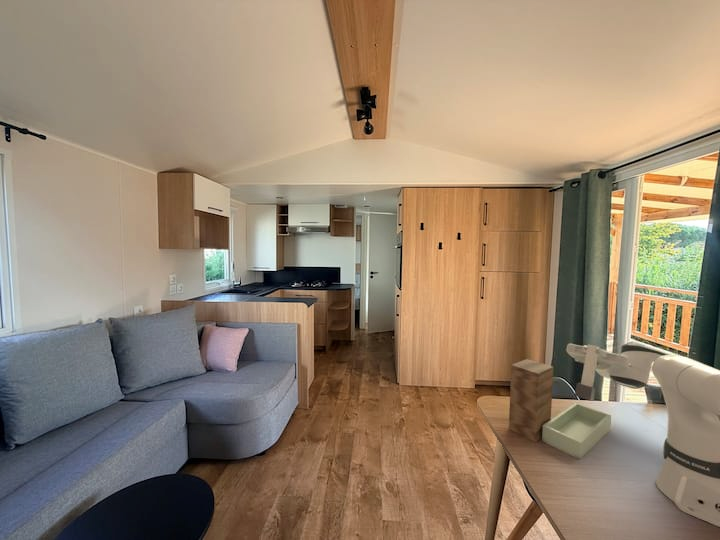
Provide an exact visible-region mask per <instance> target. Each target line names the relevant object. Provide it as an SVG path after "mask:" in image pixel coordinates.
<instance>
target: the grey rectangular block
mask: <svg viewBox="0 0 720 540" xmlns="http://www.w3.org/2000/svg"><path fill="white" fill-rule="evenodd" d="M586 346H587V352H586V358H585V363H584V364H583V365H584V366H583V369H582V370H583V371H582V375H581V381H580V382H577V383H576V387H575V393H574V396H576V397H577V398H581V399H583V400H584V399H585V400H586V401H590V402H594V400H595V394H596V387H594V383H595V382H594V381H595V377H596V376H595V375H596V364H597V359H598V354H596V349H600V346H597V345H592V344H589V343H587V345H586Z"/></svg>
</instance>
